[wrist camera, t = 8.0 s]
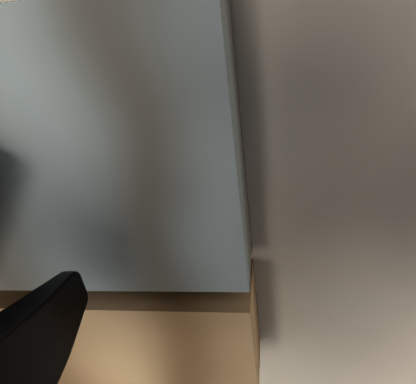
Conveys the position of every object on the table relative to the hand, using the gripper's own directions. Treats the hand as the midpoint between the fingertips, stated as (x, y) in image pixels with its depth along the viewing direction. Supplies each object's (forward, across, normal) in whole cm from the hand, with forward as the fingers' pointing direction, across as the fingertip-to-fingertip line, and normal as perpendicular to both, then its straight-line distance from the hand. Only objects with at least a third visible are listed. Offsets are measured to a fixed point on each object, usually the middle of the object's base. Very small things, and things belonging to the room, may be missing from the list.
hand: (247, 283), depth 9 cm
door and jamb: (+5, +9, +1) cm, 11 cm away
